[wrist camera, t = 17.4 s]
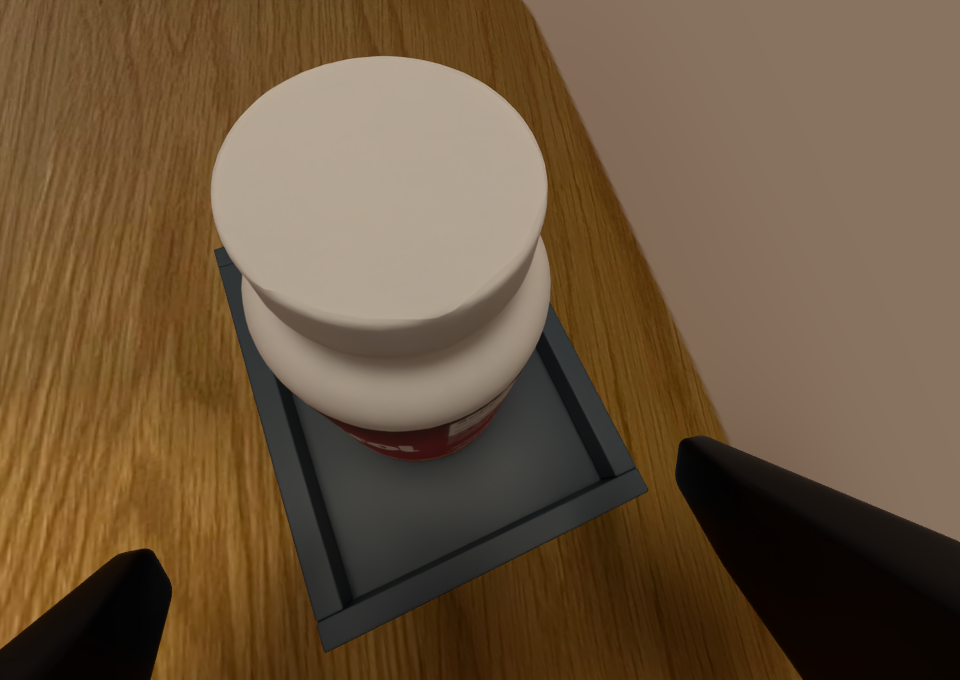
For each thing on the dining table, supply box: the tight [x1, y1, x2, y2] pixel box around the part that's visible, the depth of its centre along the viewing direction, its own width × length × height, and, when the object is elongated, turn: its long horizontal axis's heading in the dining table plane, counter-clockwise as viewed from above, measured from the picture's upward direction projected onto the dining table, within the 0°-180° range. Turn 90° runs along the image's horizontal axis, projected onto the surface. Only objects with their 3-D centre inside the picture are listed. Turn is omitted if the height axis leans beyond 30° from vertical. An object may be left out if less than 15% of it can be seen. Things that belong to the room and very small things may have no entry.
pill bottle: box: [211, 56, 551, 461], centre depth 11 cm, size 6×6×11 cm
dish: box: [214, 247, 648, 653], centre depth 16 cm, size 14×11×2 cm
